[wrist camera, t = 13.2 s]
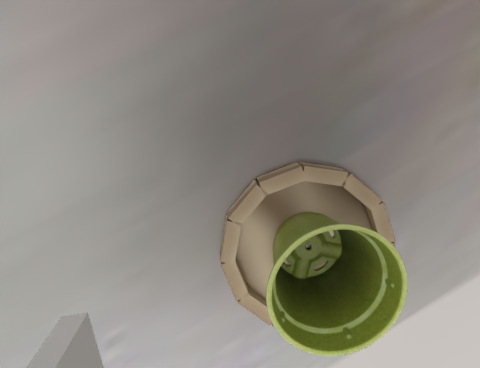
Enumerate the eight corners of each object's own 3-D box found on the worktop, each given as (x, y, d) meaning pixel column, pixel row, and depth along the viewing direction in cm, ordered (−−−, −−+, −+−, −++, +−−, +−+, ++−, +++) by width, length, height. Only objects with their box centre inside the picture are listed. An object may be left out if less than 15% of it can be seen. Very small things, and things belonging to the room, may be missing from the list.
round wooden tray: (295, 129, 31) (300, 131, 29) (414, 230, 34) (426, 238, 32) (189, 257, 33) (187, 267, 31) (310, 343, 36) (315, 357, 34)
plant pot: (231, 233, 32) (238, 281, 24) (322, 170, 32) (362, 196, 23) (291, 311, 35) (316, 380, 26) (378, 253, 34) (432, 305, 25)
